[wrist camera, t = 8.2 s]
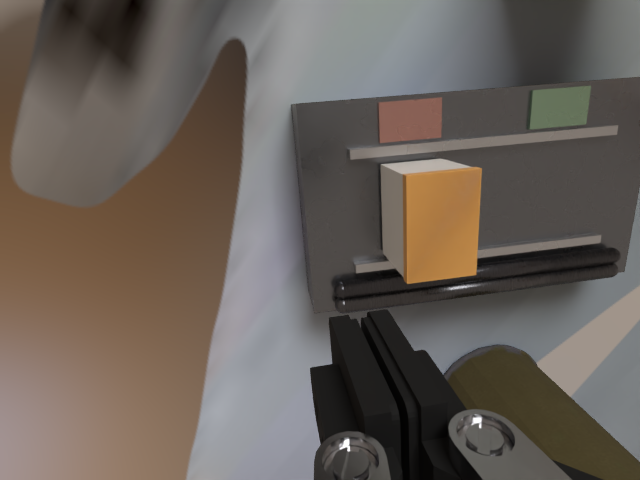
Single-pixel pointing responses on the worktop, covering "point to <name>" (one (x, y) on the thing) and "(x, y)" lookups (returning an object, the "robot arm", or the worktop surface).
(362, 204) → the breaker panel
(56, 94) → the worktop surface
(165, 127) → the worktop surface
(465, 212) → the block
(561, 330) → the worktop surface
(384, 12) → the worktop surface
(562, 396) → the canister
